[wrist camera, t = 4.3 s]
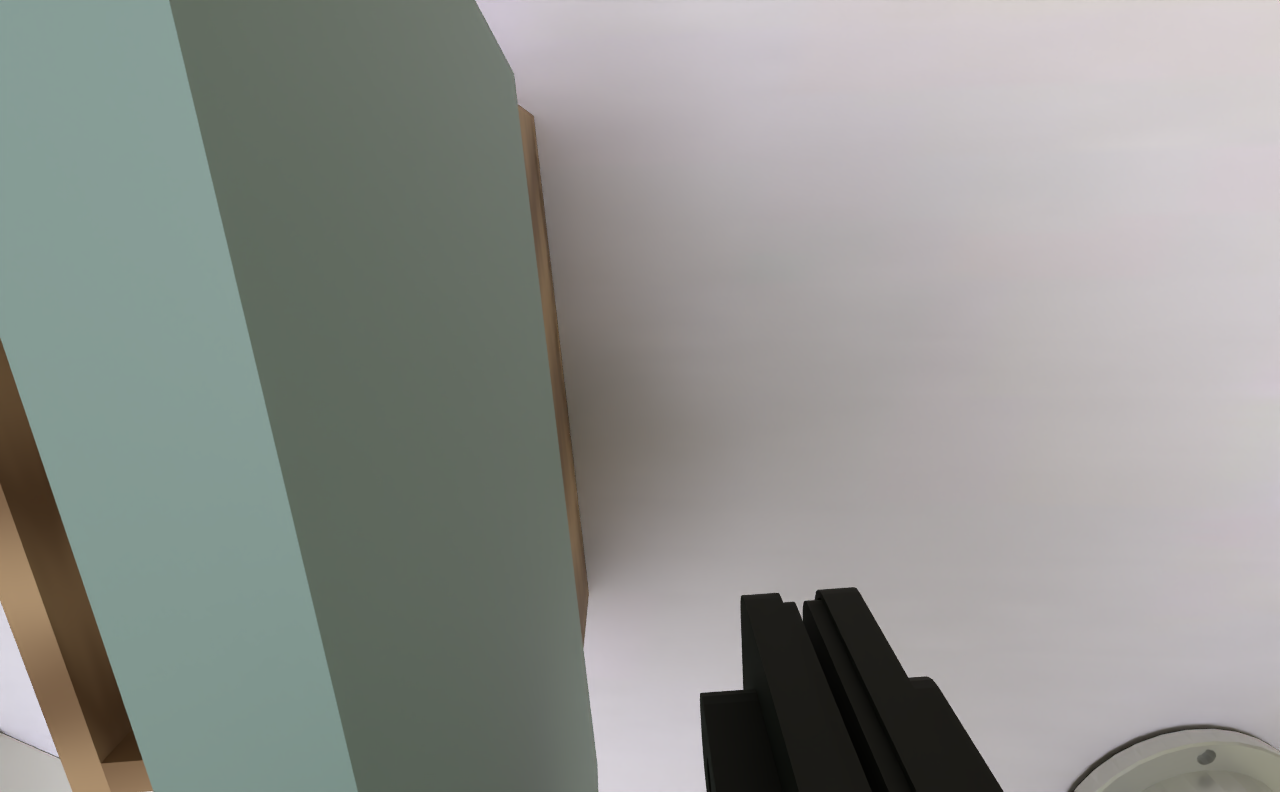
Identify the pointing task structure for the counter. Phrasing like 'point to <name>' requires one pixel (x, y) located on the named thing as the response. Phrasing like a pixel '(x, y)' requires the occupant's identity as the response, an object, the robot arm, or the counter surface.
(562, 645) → the box lid
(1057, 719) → the counter surface
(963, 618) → the counter surface
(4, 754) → the skyscraper
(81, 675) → the storage box
